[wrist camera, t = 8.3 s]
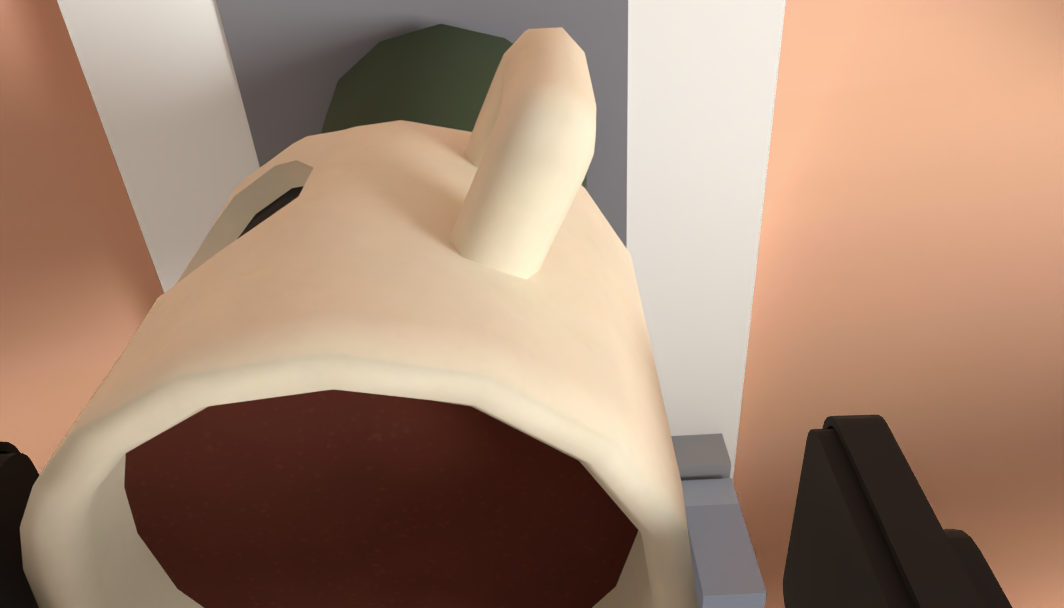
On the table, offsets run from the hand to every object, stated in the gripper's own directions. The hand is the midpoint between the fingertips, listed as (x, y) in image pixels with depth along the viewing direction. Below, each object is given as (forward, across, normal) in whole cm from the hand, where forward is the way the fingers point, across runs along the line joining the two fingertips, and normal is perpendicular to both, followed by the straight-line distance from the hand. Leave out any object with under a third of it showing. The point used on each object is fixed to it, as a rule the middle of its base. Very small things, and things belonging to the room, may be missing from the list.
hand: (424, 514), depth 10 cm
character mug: (+12, +1, 0) cm, 12 cm away
